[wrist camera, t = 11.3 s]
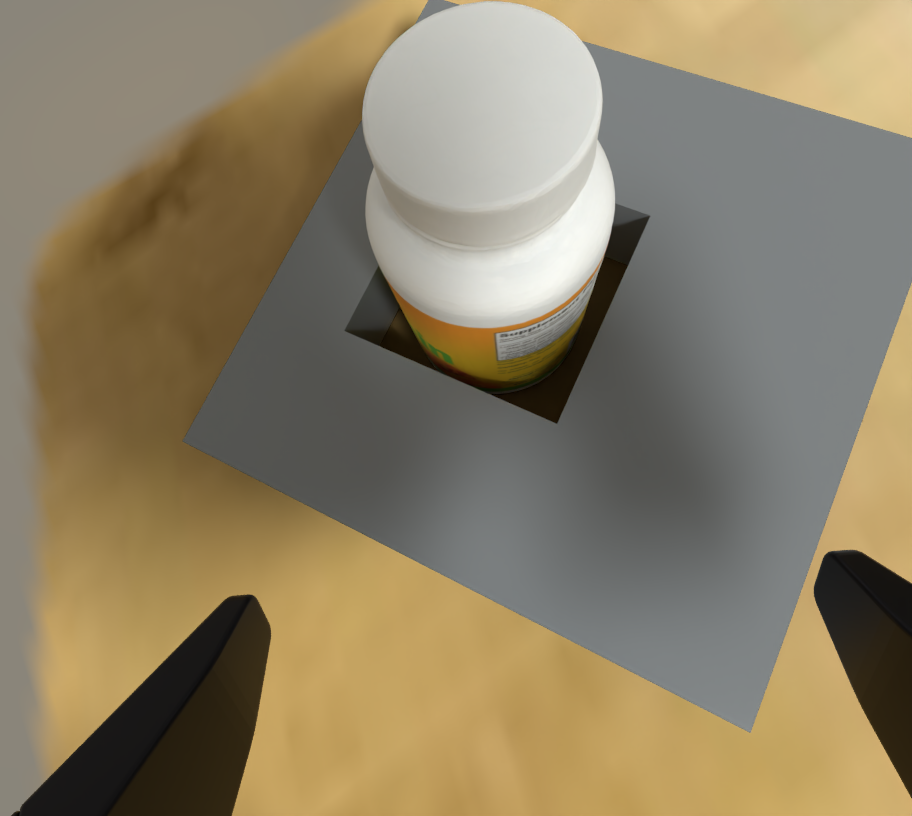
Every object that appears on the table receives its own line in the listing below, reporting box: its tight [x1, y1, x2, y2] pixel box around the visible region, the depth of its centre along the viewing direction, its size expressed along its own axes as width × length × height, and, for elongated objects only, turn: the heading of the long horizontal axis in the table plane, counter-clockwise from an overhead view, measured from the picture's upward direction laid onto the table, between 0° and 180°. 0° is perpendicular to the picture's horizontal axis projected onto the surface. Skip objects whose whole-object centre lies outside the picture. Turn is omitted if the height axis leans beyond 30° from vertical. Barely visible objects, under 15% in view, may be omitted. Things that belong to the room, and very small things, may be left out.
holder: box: [183, 0, 912, 732], centre depth 16 cm, size 16×16×3 cm
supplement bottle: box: [362, 1, 615, 394], centre depth 14 cm, size 5×5×10 cm
